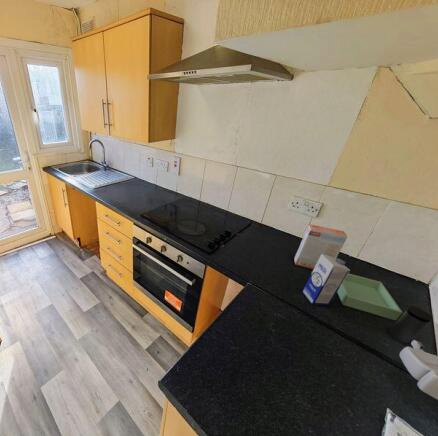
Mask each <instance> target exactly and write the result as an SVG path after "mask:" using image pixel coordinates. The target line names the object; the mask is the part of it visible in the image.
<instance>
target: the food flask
mask: <svg viewBox="0 0 438 436" xmlns="http://www.w3.org/2000/svg"><path fill="white" fill-rule="evenodd" d="M432 320H433V316H432V315H431V314H429V312H427V311H426V310H424V309H422V308H420V307H417V306H415V305H414V306H413V305H409V306H408V307H407V308H406V309H405V311H404V312H402V314H401V315H400V316H399V317H398V318H397V320H396V321H395V322H394V324H393V325H392V327H390V328H389V330H388V334H389V335H390V337H393V339H394V340H396V341H398V342H400V343H403V344H409V343H411V342H412V341H413V340H414V338H415V337H416V336H418V334H419V333H420V332H421V331H422V330H423V329H424V328H425V326H426V325H427V324H428V323H430V322H431V321H432Z"/></svg>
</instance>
